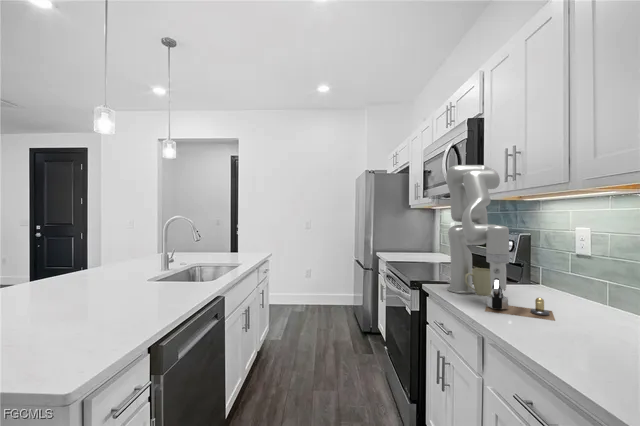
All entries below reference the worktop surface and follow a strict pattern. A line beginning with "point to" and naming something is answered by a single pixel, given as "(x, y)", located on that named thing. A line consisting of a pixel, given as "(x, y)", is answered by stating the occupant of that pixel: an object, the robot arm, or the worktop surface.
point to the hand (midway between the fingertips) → (497, 305)
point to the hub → (539, 308)
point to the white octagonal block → (504, 301)
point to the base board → (520, 312)
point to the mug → (480, 281)
